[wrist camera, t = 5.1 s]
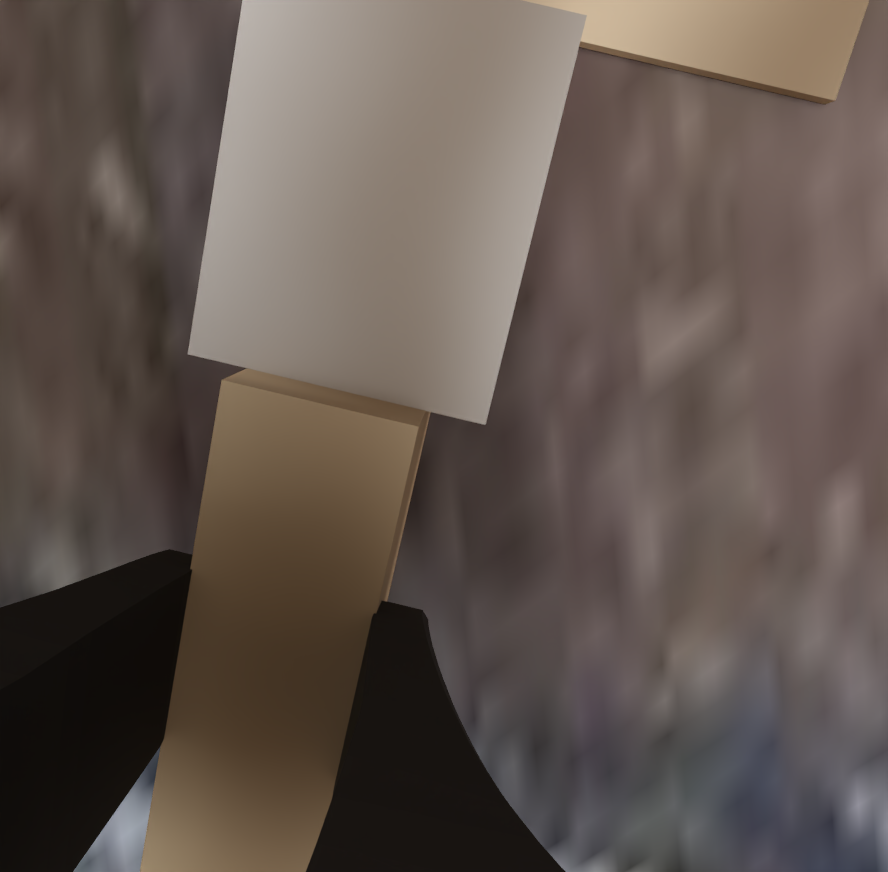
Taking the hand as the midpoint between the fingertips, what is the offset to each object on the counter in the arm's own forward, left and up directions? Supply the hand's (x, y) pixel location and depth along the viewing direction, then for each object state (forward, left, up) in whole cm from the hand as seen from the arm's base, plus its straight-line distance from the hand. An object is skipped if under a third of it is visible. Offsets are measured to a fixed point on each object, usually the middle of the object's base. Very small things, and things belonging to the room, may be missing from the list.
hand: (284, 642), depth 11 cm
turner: (0, +2, -2) cm, 3 cm away
